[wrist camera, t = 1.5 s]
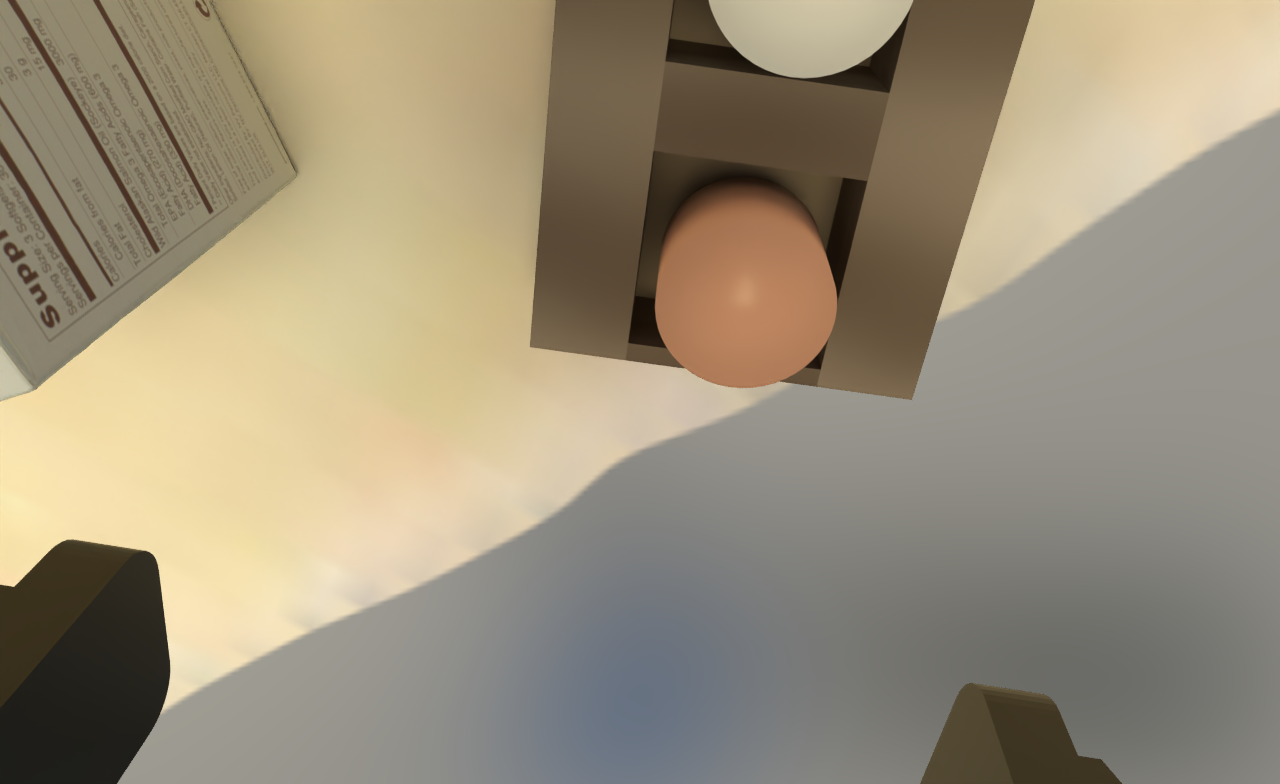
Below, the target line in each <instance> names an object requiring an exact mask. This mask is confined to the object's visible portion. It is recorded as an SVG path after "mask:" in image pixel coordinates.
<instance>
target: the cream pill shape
mask: <svg viewBox="0 0 1280 784" xmlns="http://www.w3.org/2000/svg"><path fill="white" fill-rule="evenodd" d="M912 3H913V0H709V4H710V7H711V11H712V13H713V15H714V17H715V20H716V22H717V24H718V26H719V27H720V29H721V31H722V32H723V34H724V36H725V37H726V38H727V40H728V41H729V42H730V43H731V45H732V46H733V47H734V48H735V49H736V50H737V51H738V52H739V53H740V54H741V55H743V56H744V57H745V58H747V59H748V60H749V61H751V62H752V63H754V64H755V65H757V66H759V67H761V68H763V69H765V70H767V71H770V72H773V73H776V74H779V75H783V76H788V77H796V78H815V77H822V76H827V75H832V74H835V73H838V72H841V71H844V70H846V69H849V68H851V67H853V66H855V65H857V64H859V63H860V62H862V61H863V60H865V59H866V58H868V57H870V56H871V55H872V54H873V53H875V52H876V51H877V50H878V49H879V48H881V47H882V46H883V45H884V44H885V43H886V42H887V41H888V40H889V38H890V37H891V36H892V35H893V34H894V33H895V31H896V30H897V29H898V27H899V26H900V25H901V23H902V21H903V20H904V18H905V16H906V15H907V13H908V11H909V9H910V7H911V5H912Z"/></svg>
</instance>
